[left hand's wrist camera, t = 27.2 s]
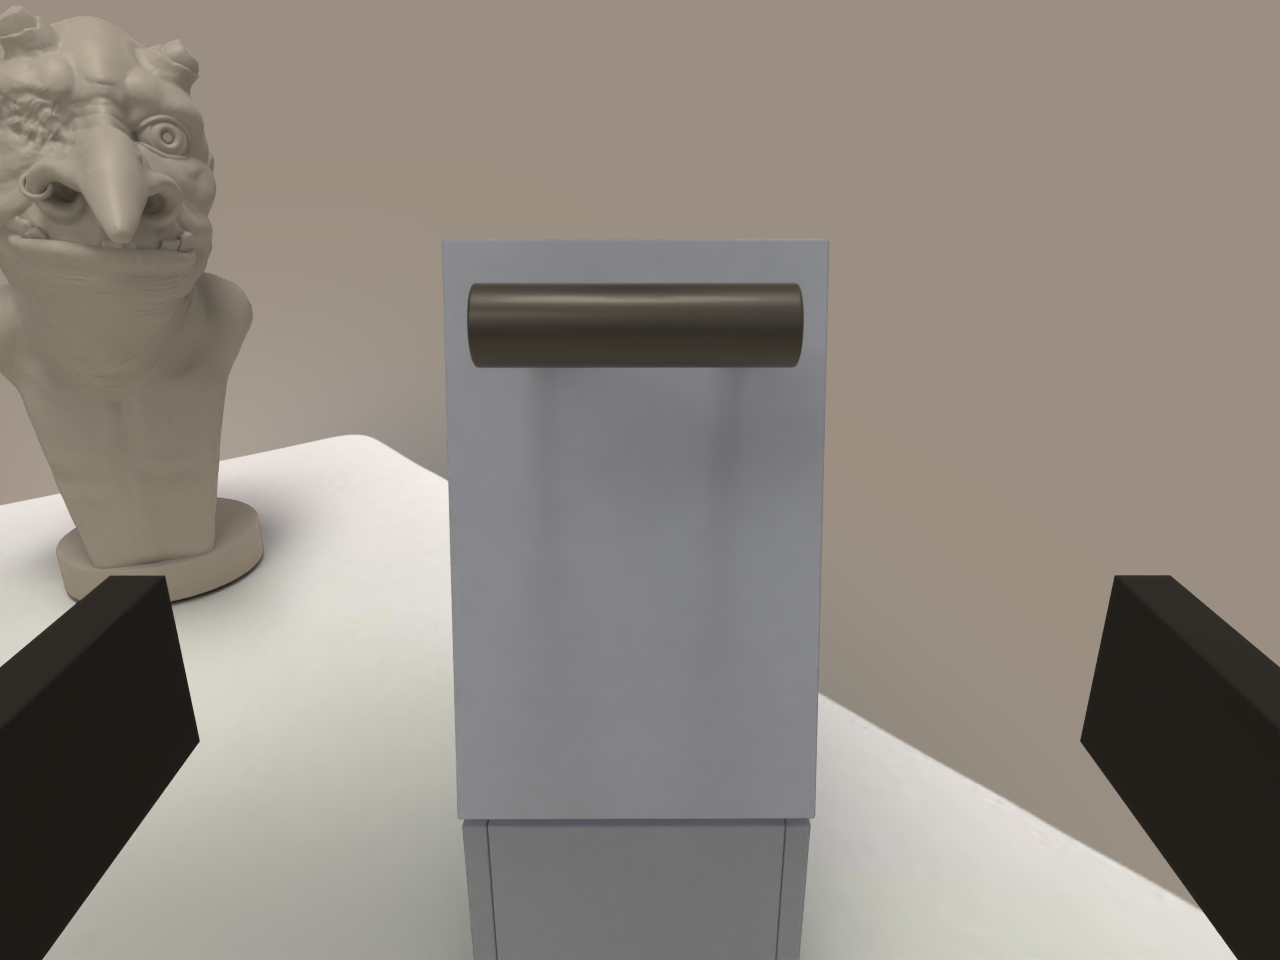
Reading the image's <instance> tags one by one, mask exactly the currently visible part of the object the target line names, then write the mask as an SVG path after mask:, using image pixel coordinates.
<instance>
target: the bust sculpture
mask: <svg viewBox="0 0 1280 960" xmlns="http://www.w3.org/2000/svg"><path fill="white" fill-rule="evenodd" d="M198 72H199V67H198V62H197V61H196V59H195V58H194V57H193V56H192V54H191V53H190V52H189V51H188V49H187V48H186V47H185V46H184V45H183V44H182V42H181V41H180V40H174V41H171V42H169V43H167V44H165V45H162V44H159V45H157V46H153V47H150V48H147V47H145V46H143V45H141V44H140V43H138V42H137V41H135V40H134V39H132V38H131V37H130V36H128V35H127V34H126V33H125V32H123V31H122V30H121V29H119V28H118V27H116V26H115V25H113V24H111V23H109V22H107V21H105V20H102V19H100V18H96V17H90V16H79V17H73V18H69V19H66V20H63V21H60V22H57V23H53V24H48V23H46V22H45V21H44V20H43V19H41V18H40V17H38V16H33V15H32V14H31V13H30V12H29V11H27V10H26V9H24V8H23V7H21V6H19V5H15V6H12V7H11V8H9V9H8V11H6V12H5V13H3V14H2V15H1V17H0V268H1V270H2V272H3V274H4V276H5V277H6V279H7V280H8V282H9V283H7V284H4V285H2V286H0V373H1V374H2V375H3V376H4V377H6V378H7V379H8V380H9V381H10V382H11V383H12V384H13V385H14V386H15V387H16V388H17V390H18V391H19V393H20V394H21V397H22V399H23V402H24V405H25V408H26V410H27V413H28V416H29V418H30V420H31V422H32V425H33V427H34V430H35V432H36V435H37V437H38V439H39V442H40V445H41V447H42V450H43V452H44V455H45V457H46V459H47V461H48V463H49V465H50V467H51V470H52V473H53V476H54V479H55V482H56V484H57V487H58V488H59V491H60V493H61V495H62V497H63V499H64V501H65V504H66V506H67V509H68V511H69V513H70V516H71V518H72V520H73V522H74V524H75V525H76V527H77V528H75V529H73V530H72V531H71V532H69V533H68V534H67V535H66V536H64V537H63V538H62V540H61V541H60V542H59V544H58V546H57V549H56V554H57V558H58V562H59V566H60V570H61V574H62V577H63V581H64V585H65V589H66V591H67V592H68V593H69V594H70V595H71V596H72V597H74V598H75V599H77V600H81V599H82V598H84V597H85V596H86V595H87V594H88V593H90V592H91V591H92V590H93V589H94V588H95V587H97V586H98V585H99V584H100V583H101V582H103V581H104V580H105V579H106V578H107V577H109V576H110V575H165V577H166V582H167V586H168V591H169V596H170V601H175V600H180V599H184V598H188V597H192V596H195V595H198V594H201V593H205V592H207V591H210V590H213V589H216V588H218V587H220V586H223V585H225V584H227V583H229V582H231V581H233V580H235V579H237V578H238V577H240V576H242V575H243V574H245V573H246V572H248V571H249V570H250V569H251V568H252V567H254V566H255V565H256V564H257V562H258V561H259V560H260V558H261V556H262V554H263V544H262V537H261V531H260V525H259V519H258V514H257V512H256V511H255V510H254V509H253V508H252V507H250V506H249V505H247V504H245V503H242V502H239V501H235V500H231V499H225V498H217V482H218V471H219V456H220V453H219V452H220V438H221V428H222V419H223V410H224V402H225V394H226V385H227V380H228V377H229V374H230V371H231V368H232V366H233V364H234V362H235V360H236V358H237V356H238V353H239V351H240V348H241V346H242V343H243V341H244V339H245V337H246V335H247V333H248V331H249V329H250V326H251V323H252V318H253V315H252V306H251V304H250V302H249V300H248V298H247V296H246V295H245V293H244V291H243V290H242V289H241V288H240V287H239V286H238V285H237V284H235V283H233V282H231V281H228V280H226V279H223V278H221V277H218V276H217V275H213V274H210V273H206V272H204V270H205V268H206V265H207V260H208V257H209V255H210V253H211V250H212V225H211V223H210V221H209V219H208V214H209V211H210V209H211V207H212V204H213V201H214V198H215V193H216V183H215V178H214V175H213V169H214V158H213V156H212V154H211V152H210V151H209V149H208V144H207V140H206V137H205V133H204V123H203V119H202V116H201V113H200V112H199V110H198V108H197V107H196V106H195V104H194V102H193V100H192V99H191V97H190V88H191V86H192V84H193V83H194V82H195V81H196V80H197V79H198V77H199V75H198Z"/></svg>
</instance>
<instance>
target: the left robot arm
mask: <svg viewBox="0 0 1280 960" xmlns="http://www.w3.org/2000/svg"><path fill="white" fill-rule="evenodd" d="M1080 741H1081V743H1082V744H1083V746H1084V747H1085V749H1086V750H1087V751H1088V753H1089V754H1090V755H1091V757H1092V758H1093V760H1094V761H1095V762H1096V764H1097V765H1098V767H1099V768H1100V769H1101V771H1102V772H1103V773H1104V775H1105V776H1106V778H1107V779H1108V780H1109V782H1110V783H1111V785H1112V786H1113V787H1114V789H1115V790H1116V791H1117V793H1118V794H1119V796H1120V797H1121V798H1122V800H1123V801H1124V803H1125V804H1126V805H1127V807H1128V808H1129V809H1130V811H1131V812H1132V814H1133V815H1134V816H1135V818H1136V819H1137V821H1138V822H1139V823H1140V825H1141V826H1142V828H1143V829H1144V830H1145V832H1146V833H1147V834H1148V836H1149V837H1150V839H1151V840H1152V841H1153V843H1154V844H1155V846H1156V847H1157V848H1158V850H1159V851H1160V853H1161V854H1162V855H1163V857H1164V858H1165V859H1166V861H1167V862H1168V864H1169V865H1170V866H1171V868H1172V869H1173V871H1174V872H1175V873H1176V875H1177V876H1178V877H1179V879H1180V880H1181V882H1182V883H1183V884H1184V886H1185V887H1186V889H1187V890H1188V891H1189V893H1190V894H1191V896H1192V897H1193V898H1194V900H1195V901H1196V902H1197V904H1198V905H1199V907H1200V908H1201V909H1202V911H1203V912H1204V914H1205V915H1206V916H1207V918H1208V919H1209V920H1210V922H1211V923H1212V925H1213V926H1214V927H1215V929H1216V930H1217V932H1218V933H1219V934H1220V936H1221V937H1222V938H1223V940H1224V941H1225V943H1226V944H1227V945H1228V947H1229V948H1230V950H1231V951H1232V952H1233V954H1234V955H1235V957H1236V958H1237V959H1238V960H1280V667H1279V666H1278V665H1276V664H1275V663H1274V662H1273V661H1272V660H1270V659H1269V658H1268V657H1267V656H1266V655H1264V654H1263V653H1262V652H1261V651H1260V650H1258V649H1257V648H1256V647H1255V646H1254V645H1252V644H1251V643H1250V642H1249V641H1248V640H1247V639H1245V638H1244V637H1243V636H1242V635H1240V634H1239V633H1238V632H1237V631H1236V630H1235V629H1233V628H1232V627H1231V626H1230V625H1229V624H1227V623H1226V622H1225V621H1224V620H1223V619H1221V618H1220V617H1219V616H1218V615H1217V614H1215V613H1214V612H1213V611H1212V610H1211V609H1210V608H1208V607H1207V606H1206V605H1205V604H1204V603H1202V602H1201V601H1200V600H1199V599H1198V598H1196V597H1195V596H1194V595H1193V594H1192V593H1190V592H1189V591H1188V590H1187V589H1186V588H1185V587H1183V586H1182V585H1181V584H1180V583H1179V582H1177V581H1176V580H1175V579H1174V578H1173V577H1171V576H1170V575H1116V576H1115V577H1114V582H1113V587H1112V591H1111V596H1110V601H1109V606H1108V610H1107V615H1106V620H1105V625H1104V630H1103V634H1102V639H1101V644H1100V649H1099V653H1098V658H1097V663H1096V668H1095V673H1094V678H1093V682H1092V687H1091V692H1090V697H1089V701H1088V706H1087V711H1086V716H1085V721H1084V725H1083V730H1082V735H1081V740H1080ZM199 742H200V740H199V735H198V730H197V725H196V721H195V716H194V711H193V706H192V701H191V697H190V692H189V687H188V682H187V677H186V673H185V668H184V663H183V658H182V654H181V649H180V644H179V639H178V634H177V630H176V625H175V620H174V615H173V610H172V606H171V601H170V596H169V591H168V586H167V582H166V577H165V575H110V576H109V577H107V578H106V579H105V580H104V581H103V582H101V583H100V584H99V585H98V586H97V587H95V588H94V589H93V590H92V591H91V592H90V593H88V594H87V595H86V596H85V597H84V598H82V599H81V600H80V601H79V602H78V603H76V604H75V605H74V606H73V607H72V608H70V609H69V610H68V611H67V612H66V613H64V614H63V615H62V616H61V617H60V618H59V619H57V620H56V621H55V622H54V623H53V624H51V625H50V626H49V627H48V628H47V629H45V630H44V631H43V632H42V633H41V634H39V635H38V636H37V637H36V638H35V639H33V640H32V641H31V642H30V643H29V644H28V645H26V646H25V647H24V648H23V649H22V650H20V651H19V652H18V653H17V654H16V655H14V656H13V657H12V658H11V659H10V660H8V661H7V662H6V663H5V664H4V665H2V666H1V667H0V960H42V959H43V958H44V957H45V955H46V954H47V952H48V951H49V950H50V948H51V947H52V945H53V944H54V943H55V941H56V940H57V938H58V937H59V936H60V934H61V933H62V932H63V930H64V929H65V927H66V926H67V925H68V923H69V922H70V920H71V919H72V918H73V916H74V915H75V914H76V912H77V911H78V909H79V908H80V907H81V905H82V904H83V902H84V901H85V900H86V898H87V897H88V895H89V894H90V893H91V891H92V890H93V889H94V887H95V886H96V884H97V883H98V882H99V880H100V879H101V877H102V876H103V875H104V873H105V872H106V871H107V869H108V868H109V866H110V865H111V864H112V862H113V861H114V859H115V858H116V857H117V855H118V854H119V853H120V851H121V850H122V848H123V847H124V846H125V844H126V843H127V841H128V840H129V839H130V837H131V836H132V834H133V833H134V832H135V830H136V829H137V828H138V826H139V825H140V823H141V822H142V821H143V819H144V818H145V816H146V815H147V814H148V812H149V811H150V810H151V808H152V807H153V805H154V804H155V803H156V801H157V800H158V798H159V797H160V796H161V794H162V793H163V791H164V790H165V789H166V787H167V786H168V785H169V783H170V782H171V780H172V779H173V778H174V776H175V775H176V773H177V772H178V771H179V769H180V768H181V767H182V765H183V764H184V762H185V761H186V760H187V758H188V757H189V755H190V754H191V753H192V751H193V750H194V749H195V747H196V746H197V744H198V743H199Z"/></svg>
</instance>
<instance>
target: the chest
mask: <svg viewBox="0 0 1280 960" xmlns="http://www.w3.org/2000/svg"><path fill="white" fill-rule="evenodd" d="M462 828H463V840H464V851H465V862H466V874H467V885H468V897H469V908H470V919H471V931H472V942H473V954H474V960H799V956H800V944H801V932H802V920H803V908H804V896H805V884H806V873H807V861H808V849H809V837H810V822H809V818H763V819H464V822H463V826H462Z"/></svg>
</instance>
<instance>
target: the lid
mask: <svg viewBox="0 0 1280 960" xmlns="http://www.w3.org/2000/svg"><path fill="white" fill-rule="evenodd" d="M442 265H443V266H442V267H443V302H444V338H445V375H446V410H447V447H448V483H449V520H450V556H451V592H452V628H453V664H454V700H455V736H456V773H457V809H458V819H763V818H814V817H815V797H816V757H817V717H818V675H819V635H820V595H821V555H822V515H823V475H824V434H825V393H826V354H827V313H828V272H829V240H828V239H443V240H442Z"/></svg>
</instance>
